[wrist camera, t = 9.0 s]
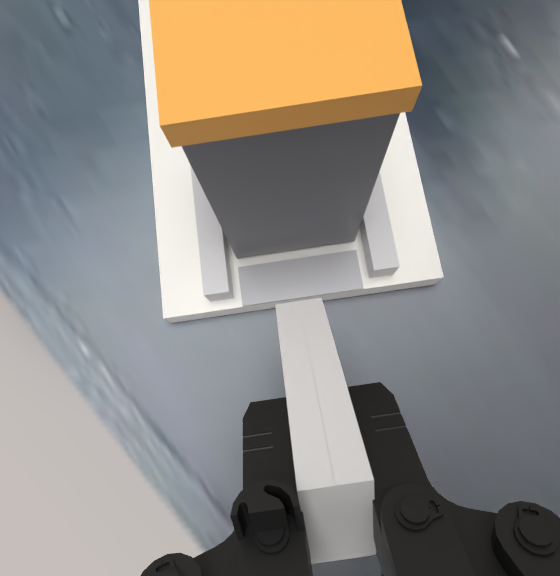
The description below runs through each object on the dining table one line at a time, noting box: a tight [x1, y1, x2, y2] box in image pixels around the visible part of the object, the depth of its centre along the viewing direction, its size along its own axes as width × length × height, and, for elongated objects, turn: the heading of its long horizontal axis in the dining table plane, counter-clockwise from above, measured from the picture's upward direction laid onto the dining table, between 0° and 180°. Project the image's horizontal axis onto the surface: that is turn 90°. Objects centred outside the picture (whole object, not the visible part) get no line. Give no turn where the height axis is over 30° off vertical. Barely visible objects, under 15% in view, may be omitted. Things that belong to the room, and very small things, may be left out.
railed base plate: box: [138, 0, 443, 323], centre depth 24 cm, size 22×14×3 cm, turn 8°
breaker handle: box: [149, 0, 422, 258], centre depth 17 cm, size 5×6×12 cm
